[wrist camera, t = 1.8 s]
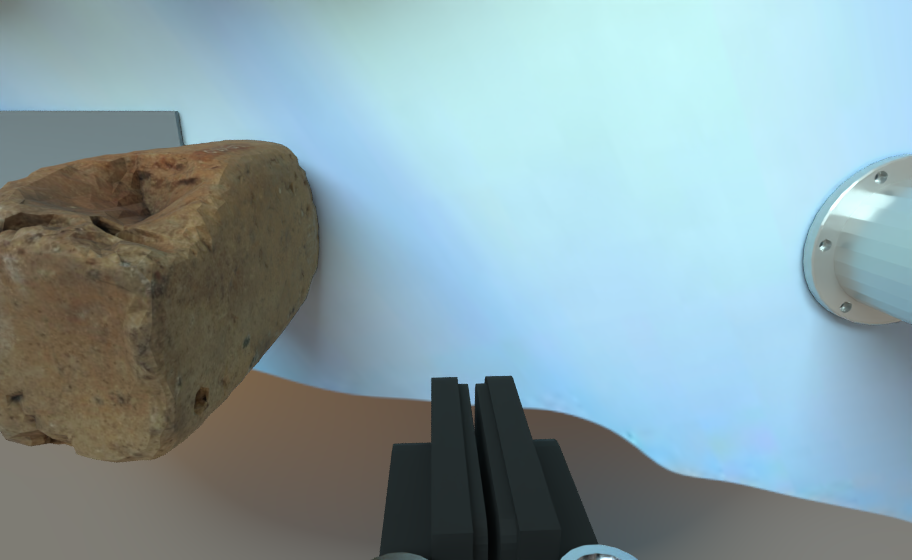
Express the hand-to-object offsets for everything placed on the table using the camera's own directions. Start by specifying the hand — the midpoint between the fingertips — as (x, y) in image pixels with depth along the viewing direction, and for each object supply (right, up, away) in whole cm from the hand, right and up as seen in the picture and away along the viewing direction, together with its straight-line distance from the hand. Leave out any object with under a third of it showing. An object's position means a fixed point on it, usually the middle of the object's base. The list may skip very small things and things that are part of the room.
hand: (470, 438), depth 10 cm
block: (-13, +8, +24) cm, 28 cm away
